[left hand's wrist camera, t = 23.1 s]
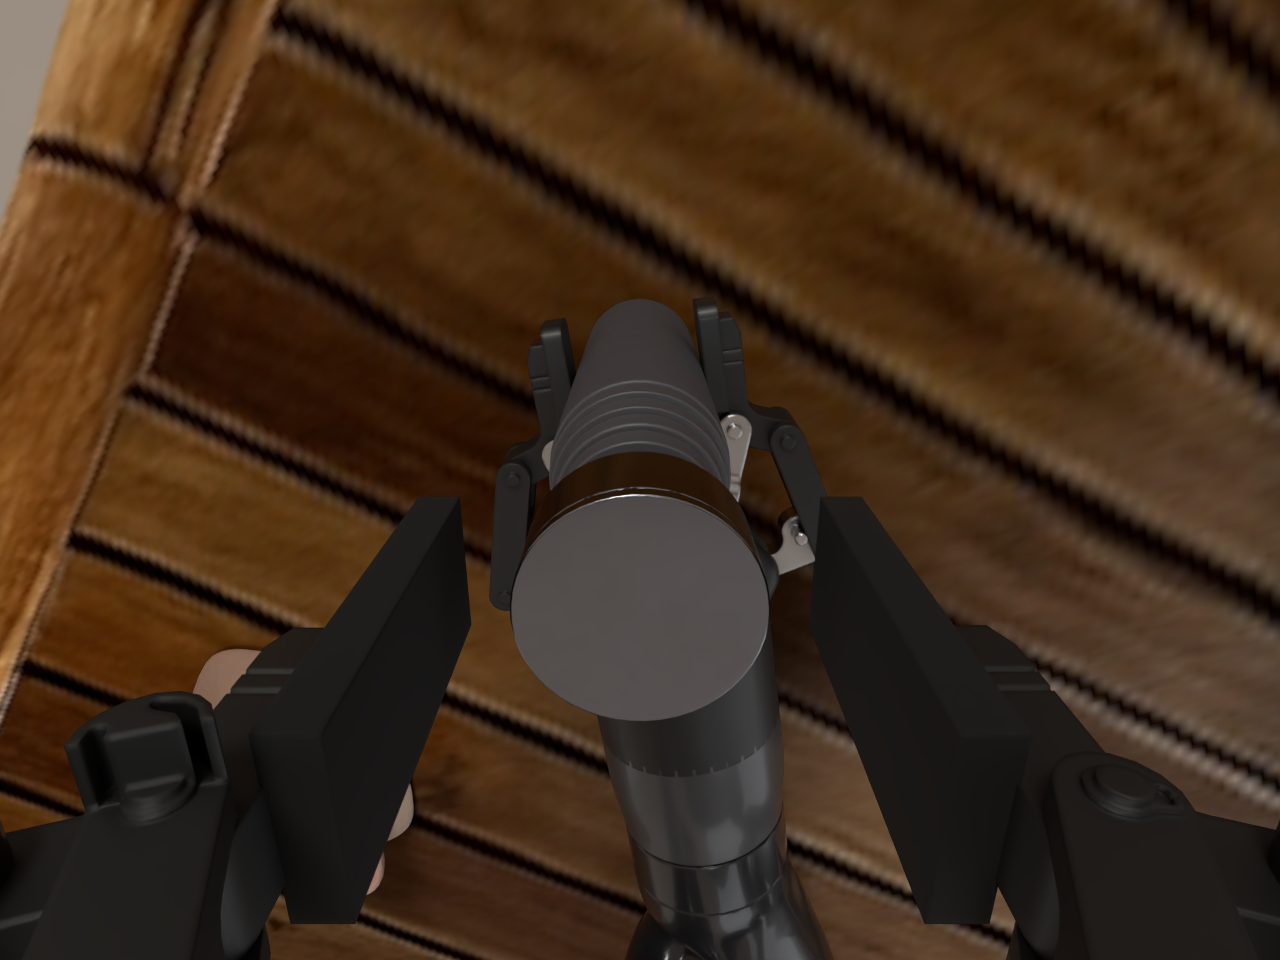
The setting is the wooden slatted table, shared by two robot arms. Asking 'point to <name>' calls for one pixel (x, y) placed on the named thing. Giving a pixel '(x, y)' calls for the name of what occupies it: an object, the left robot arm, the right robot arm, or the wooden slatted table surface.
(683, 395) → the bottle
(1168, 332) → the wooden slatted table surface
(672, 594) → the cap
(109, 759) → the left robot arm
